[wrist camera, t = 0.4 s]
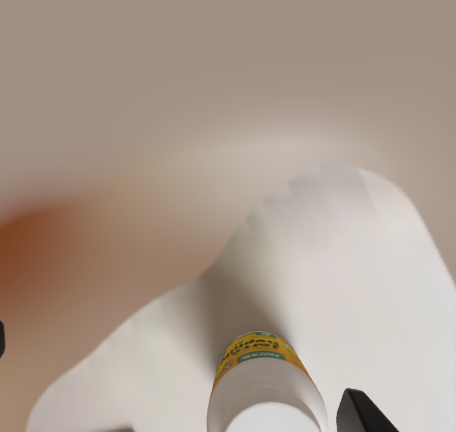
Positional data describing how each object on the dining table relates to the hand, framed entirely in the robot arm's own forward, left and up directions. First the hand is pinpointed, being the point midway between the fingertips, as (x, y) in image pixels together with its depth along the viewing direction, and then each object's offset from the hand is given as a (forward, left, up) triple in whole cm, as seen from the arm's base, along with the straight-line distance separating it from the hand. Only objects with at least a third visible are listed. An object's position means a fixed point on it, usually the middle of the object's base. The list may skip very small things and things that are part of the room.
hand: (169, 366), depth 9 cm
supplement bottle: (-5, -2, -14) cm, 15 cm away
